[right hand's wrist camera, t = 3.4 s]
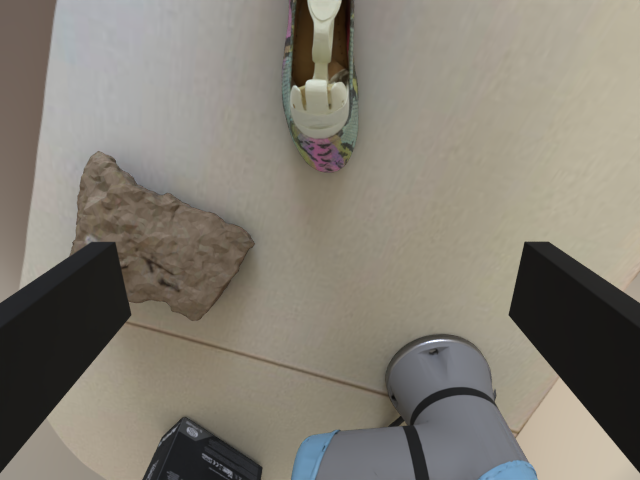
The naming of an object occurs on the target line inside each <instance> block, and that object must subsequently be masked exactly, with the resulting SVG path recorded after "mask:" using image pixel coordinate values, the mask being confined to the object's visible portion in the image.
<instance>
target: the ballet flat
mask: <svg viewBox="0 0 640 480" xmlns="http://www.w3.org/2000/svg"><path fill="white" fill-rule="evenodd" d="M353 34H354V0H289V19H288V28H287V35H286V42H285V50H284V59H283V67H282V100H283V107H284V112H285V116H286V120H287V123H288V127H289V130H290V133H291V136H292V139H293V141H294V143H295V145H296V147H297V149H298V151H299V152H300V154H301V156H302V157H303V158H304V160H305V161H306V162H307V163H308V164H309V165H310V166H311V167H313V168H315V169H316V170H319V171H322V172H335V171H337V170H339V169H341V168H342V167H344V166H345V165H346V163H347V162H348V160H349V158H350V156H351V154H352V152H353V149H354V146H355V142H356V138H357V133H358V85H357V77H356V73H355V66H354V58H353Z"/></svg>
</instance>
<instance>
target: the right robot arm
mask: <svg viewBox="0 0 640 480" xmlns="http://www.w3.org/2000/svg"><path fill="white" fill-rule="evenodd" d="M130 316H131V311H130V307H129V302H128V297H127V293H126V288H125V284H124V279H123V274H122V270H121V265H120V261H119V256H118V252H117V247H116V242H90V243H89V244H87V245H86V246H84V247H83V248H81V249H80V250H78V251H77V252H76V253H74V254H73V255H71V256H70V257H68V258H67V259H65V260H64V261H62V262H61V263H59V264H58V265H56V266H55V267H53V268H52V269H50V270H49V271H47V272H46V273H44V274H43V275H41V276H40V277H38V278H37V279H35V280H34V281H32V282H31V283H29V284H28V285H26V286H25V287H24V288H22V289H21V290H19V291H18V292H16V293H15V294H13V295H12V296H10V297H9V298H7V299H6V300H4V301H3V302H1V303H0V473H1V472H2V470H3V469H4V468H5V467H6V466H7V464H8V463H9V462H10V461H11V460H12V458H13V457H14V456H15V455H16V453H17V452H18V451H19V450H20V449H21V447H22V446H23V445H24V444H25V443H26V441H27V440H28V439H29V438H30V437H31V435H32V434H33V433H34V432H35V431H36V429H37V428H38V427H39V426H40V425H41V423H42V422H43V421H44V420H45V419H46V417H47V416H48V415H49V414H50V413H51V411H52V410H53V409H54V408H55V407H56V405H57V404H58V403H59V402H60V400H61V399H62V398H63V397H64V396H65V394H66V393H67V392H68V391H69V390H70V388H71V387H72V386H73V385H74V384H75V382H76V381H77V380H78V379H79V378H80V376H81V375H82V374H83V373H84V372H85V370H86V369H87V368H88V367H89V366H90V364H91V363H92V362H93V361H94V360H95V358H96V357H97V356H98V355H99V354H100V352H101V351H102V350H103V349H104V348H105V346H106V345H107V344H108V343H109V341H110V340H111V339H112V338H113V337H114V335H115V334H116V333H117V332H118V331H119V329H120V328H121V327H122V326H123V325H124V323H125V322H126V321H127V320H128V319H129V317H130ZM509 316H510V317H511V319H512V320H513V321H514V322H515V323H516V325H517V326H518V327H519V328H520V329H521V331H522V332H523V333H524V334H525V335H526V337H527V338H528V339H529V340H530V341H531V343H532V344H533V345H534V346H535V348H536V349H537V350H538V351H539V352H540V354H541V355H542V356H543V357H544V358H545V360H546V361H547V362H548V363H549V364H550V366H551V367H552V368H553V369H554V370H555V372H556V373H557V374H558V375H559V376H560V378H561V379H562V380H563V381H564V382H565V384H566V385H567V386H568V387H569V388H570V390H571V391H572V392H573V393H574V394H575V396H576V397H577V398H578V399H579V400H580V402H581V403H582V404H583V405H584V407H585V408H586V409H587V410H588V411H589V413H590V414H591V415H592V416H593V417H594V419H595V420H596V421H597V422H598V423H599V425H600V426H601V427H602V428H603V429H604V431H605V432H606V433H607V434H608V435H609V437H610V438H611V439H612V440H613V441H614V443H615V444H616V445H617V446H618V447H619V449H620V450H621V451H622V452H623V453H624V455H625V456H626V457H627V458H628V459H629V461H630V462H631V463H632V464H633V466H634V467H635V468H636V469H637V470H638V471H639V473H640V303H639V302H637V301H636V300H634V299H633V298H631V297H630V296H628V295H627V294H625V293H624V292H622V291H621V290H619V289H618V288H616V287H615V286H614V285H612V284H611V283H609V282H608V281H606V280H605V279H603V278H602V277H600V276H599V275H597V274H596V273H594V272H593V271H591V270H590V269H588V268H587V267H585V266H584V265H582V264H581V263H579V262H578V261H576V260H575V259H573V258H572V257H570V256H569V255H567V254H566V253H564V252H563V251H562V250H560V249H559V248H557V247H556V246H554V245H553V244H551V243H550V242H524V247H523V252H522V256H521V261H520V265H519V270H518V274H517V279H516V284H515V288H514V293H513V297H512V302H511V307H510V311H509ZM386 386H387V390H388V395H389V398H390V400H391V402H392V403H393V405H394V407H395V408H396V409H397V411H398V412H399V414H400V415H401V416H400V417H399V418H398V419H396V420H395V421H394V422H393V423H392V424H391V425H389V426H388V427H384V428H371V429H359V430H346V431H340V430H335V431H333V432H331V433H324V434H317V435H312V436H309V437H307V438H306V439H305V440H304V441H303V442H302V444H301V446H300V448H299V449H298V452H297V455H296V458H295V462H294V466H293V471H292V477H291V480H538V479H537V475H536V471H535V470H534V468H533V466H532V465H531V464H530V463H529V462H528V460H527V458H526V456H525V455H524V453H523V451H522V449H521V448H520V446H519V444H518V443H517V441H516V439H515V437H514V435H513V434H512V432H511V430H510V428H509V427H508V425H507V423H506V421H505V420H504V418H503V416H502V414H501V413H500V411H499V409H498V407H497V406H496V404H495V398H496V390H494V393H493V389H492V379H491V372H490V368H489V365H488V363H487V361H486V360H485V358H484V356H483V355H482V353H481V352H480V350H479V349H478V348H477V347H476V346H475V345H474V344H472V343H471V342H469V341H467V340H465V339H463V338H460V337H457V336H453V335H444V334H440V335H430V336H426V337H422V338H419V339H417V340H414V341H412V342H411V343H409V344H407V345H406V346H404V347H403V348H402V349H400V350H399V351H398V352H397V353H396V355H395V356H394V357H393V358H392V360H391V362H390V363H389V366H388V368H387V372H386ZM404 421H405V422H406V424H407V425H408V426H399V425H400V424H401V423H403V422H404Z"/></svg>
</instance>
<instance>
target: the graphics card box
mask: <svg viewBox="0 0 640 480" xmlns="http://www.w3.org/2000/svg"><path fill="white" fill-rule="evenodd" d="M261 475H262V467H261V466H260V465H258V464H256V463H255V462H253V461H252V460H250V459H249V458H247V457H246V456H244V455H243V454H241V453H240V452H238V451H237V450H235V449H234V448H232V447H230V446H229V445H227V444H226V443H224V442H223V441H221V440H220V439H218V438H217V437H215V436H214V435H212V434H211V433H209V432H208V431H206V430H205V429H203V428H202V427H200V426H198V425H197V424H195V423H194V422H192V421H191V420H189V419H188V418H186V417H183V418H182V419H181V420H180V421H179V422H178V423H177V424H175V425H174V426H173V427H172V428H171V429H170V430H169V431H168V432H167V433H166V434H165V435H164V436H163V437H162V439H161V441H160V443H159V445H158V447H157V450H156V452H155V453H154V456H153V458H152V460H151V462H150V465H149V467H148V469H147V471H146V473H145V475H144V477H143V479H142V480H261Z"/></svg>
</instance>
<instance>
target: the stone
mask: <svg viewBox="0 0 640 480" xmlns="http://www.w3.org/2000/svg"><path fill="white" fill-rule="evenodd" d="M77 205H78V213H77V222H76V225H77V226H76V239H75V240H74V241H73V242H72V243H73V246H72V250H71V253H70V256H71V255H73V254H74V253H76V252H77V251H78V250H80V249H81V248H83V247H84V246H86V245H87V244H89V243H90V242H116V247H117V252H118V256H119V261H120V265H121V270H122V274H123V279H124V284H125V288H126V293H127V297H128V301H130V302H134V303H141V302H144V301H147V300H155V301H164V302H167V303H168V304H169V306H170V307H171V310H172V311H173V312H177V313H181V314H183V315H184V316H186V317H188V318H189V319H190V320H192V321H197V320H199V319H201V318H202V316H203V315H204V314H205V313H207V312H208V311H209V309H210V308H211V307H212V306H213V305H214V303H215V302H216V301H217V299H218V298H219V297H220V296H221V294H222V293H223V291H224V290H225V289H226V288H227V286H228V284H229V282H230V280H231V278H232V277H233V276H234V275H235V274H236V273H237V272H238V271H239V266H240V264H241V263H242V261H243V260H244V257H245V255H246V253H247V251H248V250H249V249H250V248H252V247H253V246H254V245H255V243H254V241H253V240H252V238H251V236H250V235H249V234H248V233H247V231H245V230H244V229H243V228H241V227H239V226H236V225H234V224H228V223H225V222H224V220H223V219H221V218H220V217H218V216H217V215H216V214H214V213H211V212H204V211H202V210H199V209H196V208H192V207H191V206H190V205H188V204H185V203H183V202H181V201H180V200H178V199H177V198H175V197H174V196H173V195H171V194H169V193H166V194H164V195H158V194H157V193H156V192H153V191H149V190H147V189H146V188H143V186H140V185H137V184H136V182H135V180H134V178H133V177H132V176H131V175H129V174H128V173H127V172H125V171H122V170H121V169H120V168H119V167H118V165H117V164H116V161H115V159H114V158H113V157H111V156H109V155H105V154H104V153H102V152H99V151H98V152H97V153H95V154H94V155H92V156H91V157H90V159H89V161H88V163H87V165H86V166H85V168H84V172H83V175H82V177H81V182H80V192H79V194H78V201H77ZM70 256H69V257H70Z"/></svg>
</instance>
